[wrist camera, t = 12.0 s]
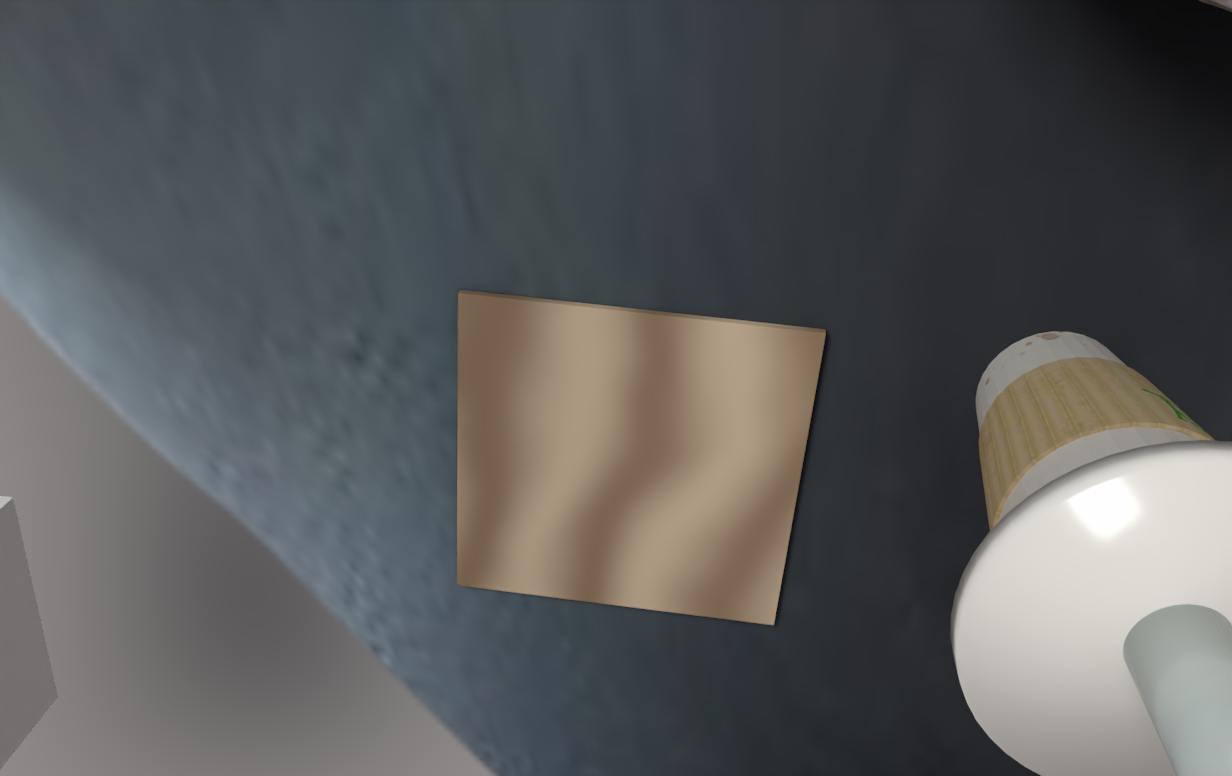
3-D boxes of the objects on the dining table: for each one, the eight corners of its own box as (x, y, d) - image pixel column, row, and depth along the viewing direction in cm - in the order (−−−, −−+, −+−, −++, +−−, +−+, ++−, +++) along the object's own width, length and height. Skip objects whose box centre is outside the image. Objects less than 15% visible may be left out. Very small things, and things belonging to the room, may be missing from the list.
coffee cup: (1101, 517, 49) (1230, 770, 36) (897, 455, 49) (952, 687, 36) (1216, 331, 45) (1412, 543, 32) (992, 261, 45) (1096, 445, 31)
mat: (458, 580, 55) (456, 585, 55) (460, 289, 48) (458, 292, 47) (773, 619, 54) (773, 625, 54) (825, 329, 47) (826, 333, 46)
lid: (914, 745, 37) (954, 966, 30) (1003, 416, 31) (1080, 594, 24) (1304, 796, 36) (1442, 1036, 29) (1473, 468, 30) (1701, 668, 23)
